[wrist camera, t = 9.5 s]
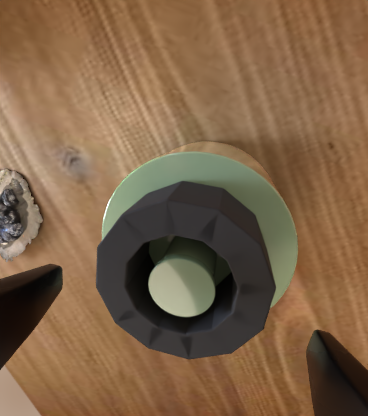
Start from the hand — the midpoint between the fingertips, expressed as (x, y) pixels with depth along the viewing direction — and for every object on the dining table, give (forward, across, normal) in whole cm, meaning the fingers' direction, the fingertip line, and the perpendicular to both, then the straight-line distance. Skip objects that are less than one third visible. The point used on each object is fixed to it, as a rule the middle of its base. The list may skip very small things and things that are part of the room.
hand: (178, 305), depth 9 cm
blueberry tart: (+10, +16, +4) cm, 20 cm away
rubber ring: (+4, 0, 0) cm, 4 cm away
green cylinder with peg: (+10, 0, 0) cm, 10 cm away
